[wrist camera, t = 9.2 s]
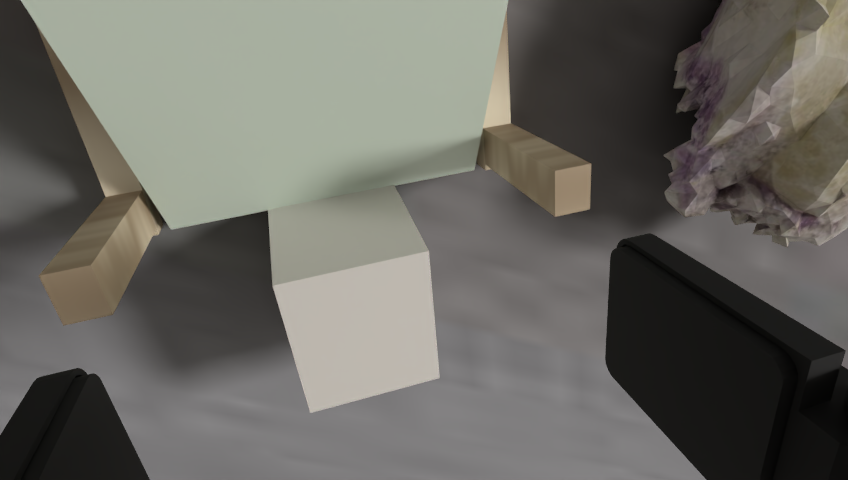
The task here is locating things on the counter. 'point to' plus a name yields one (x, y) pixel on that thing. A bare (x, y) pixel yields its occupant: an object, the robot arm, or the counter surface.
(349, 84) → the trapdoor
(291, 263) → the cube
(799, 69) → the geode
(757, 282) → the counter surface
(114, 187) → the frame
